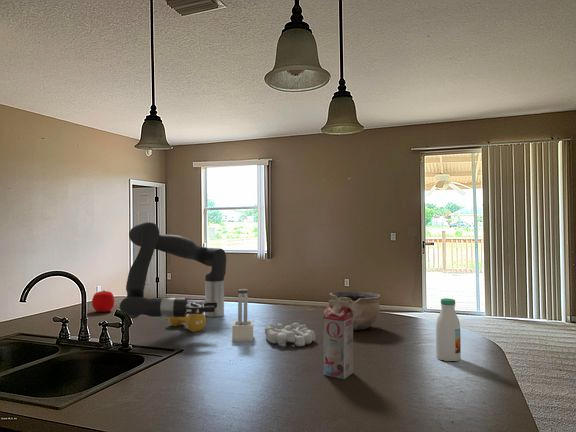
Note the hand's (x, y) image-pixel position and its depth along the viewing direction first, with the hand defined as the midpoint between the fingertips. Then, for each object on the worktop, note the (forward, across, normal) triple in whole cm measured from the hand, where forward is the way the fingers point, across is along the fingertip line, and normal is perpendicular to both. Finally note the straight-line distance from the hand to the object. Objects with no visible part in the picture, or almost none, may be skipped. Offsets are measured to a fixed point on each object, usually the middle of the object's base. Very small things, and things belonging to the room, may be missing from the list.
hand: (215, 306), depth 169 cm
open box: (+11, 0, +12) cm, 17 cm away
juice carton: (+41, -42, +13) cm, 60 cm away
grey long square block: (+11, 0, +12) cm, 16 cm away
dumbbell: (-15, +19, +13) cm, 27 cm away
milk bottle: (+81, -30, +13) cm, 87 cm away
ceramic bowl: (+59, +14, +13) cm, 62 cm away
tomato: (-63, +57, +13) cm, 86 cm away
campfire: (+29, -3, +13) cm, 32 cm away
